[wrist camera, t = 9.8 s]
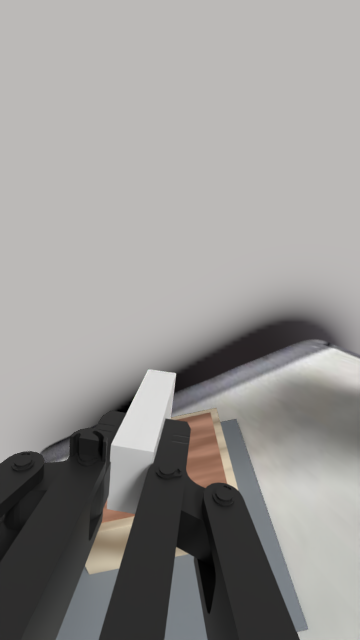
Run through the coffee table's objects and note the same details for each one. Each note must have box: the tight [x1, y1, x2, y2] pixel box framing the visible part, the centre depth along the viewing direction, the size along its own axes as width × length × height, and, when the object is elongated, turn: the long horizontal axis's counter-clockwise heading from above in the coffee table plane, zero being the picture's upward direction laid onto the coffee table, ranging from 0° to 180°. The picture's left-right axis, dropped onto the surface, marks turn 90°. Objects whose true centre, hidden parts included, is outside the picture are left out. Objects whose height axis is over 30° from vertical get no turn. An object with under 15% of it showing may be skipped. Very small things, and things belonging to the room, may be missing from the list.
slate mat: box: [56, 419, 308, 640], centre depth 41 cm, size 28×24×1 cm
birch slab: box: [85, 408, 238, 575], centre depth 42 cm, size 6×18×16 cm
